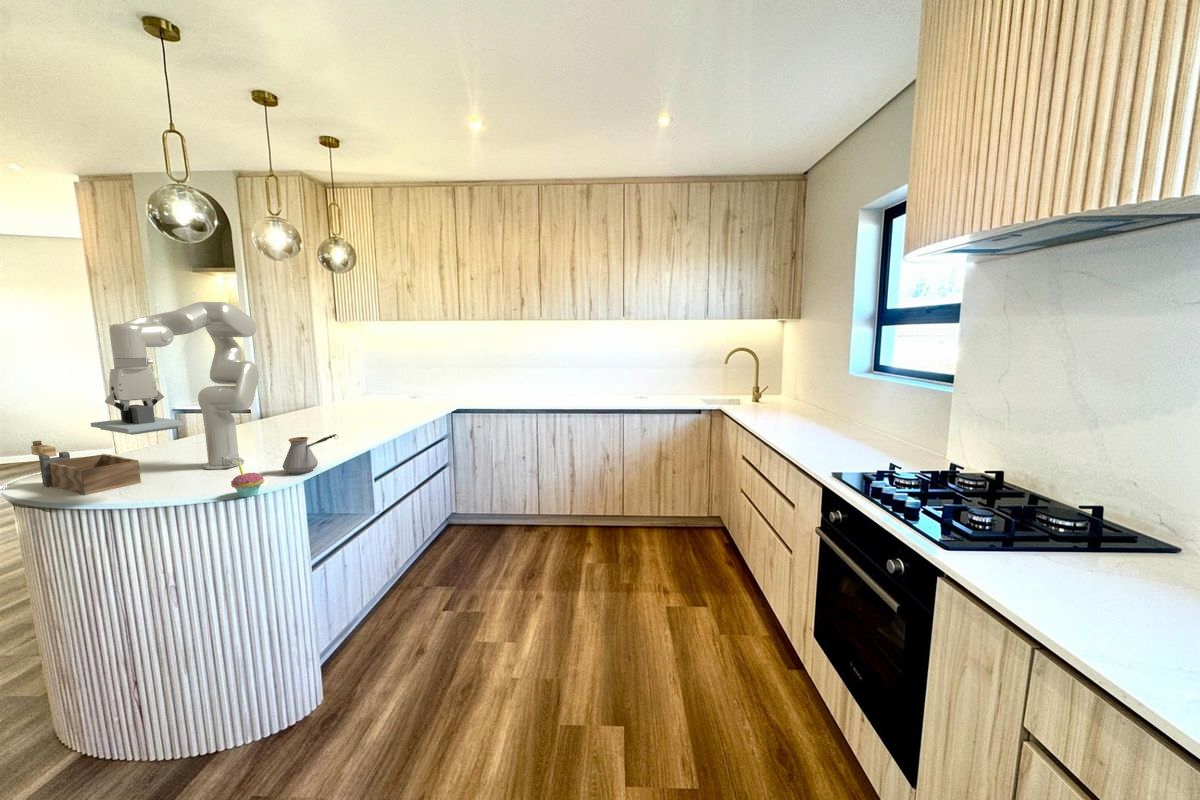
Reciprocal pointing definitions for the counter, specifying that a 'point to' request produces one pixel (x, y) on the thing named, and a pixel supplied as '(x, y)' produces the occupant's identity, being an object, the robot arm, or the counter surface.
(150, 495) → the counter surface
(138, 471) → the chest
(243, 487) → the cupcake
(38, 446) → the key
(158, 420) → the lid
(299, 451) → the coffee pot
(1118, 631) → the counter surface
